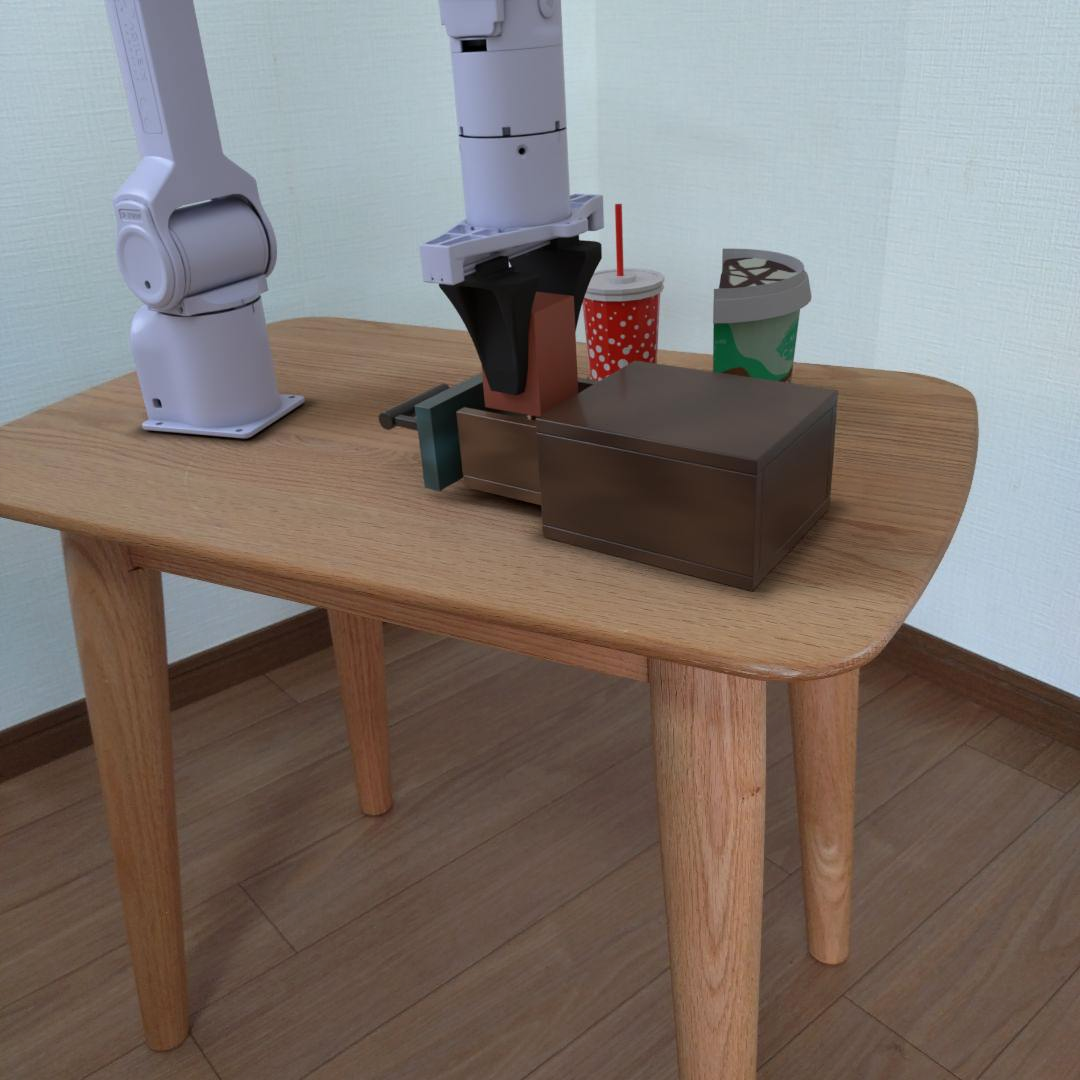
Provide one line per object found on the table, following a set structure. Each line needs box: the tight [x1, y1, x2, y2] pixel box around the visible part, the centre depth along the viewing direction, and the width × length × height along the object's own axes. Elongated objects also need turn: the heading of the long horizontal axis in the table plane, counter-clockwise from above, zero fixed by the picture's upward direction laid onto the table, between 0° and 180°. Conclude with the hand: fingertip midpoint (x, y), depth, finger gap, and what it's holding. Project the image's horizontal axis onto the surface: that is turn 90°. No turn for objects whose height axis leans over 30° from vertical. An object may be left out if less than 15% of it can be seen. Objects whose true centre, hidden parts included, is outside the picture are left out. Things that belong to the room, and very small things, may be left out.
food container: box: [712, 248, 813, 383], centre depth 71 cm, size 12×6×10 cm, turn 168°
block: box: [480, 292, 579, 417], centre depth 60 cm, size 4×4×6 cm
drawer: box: [378, 372, 599, 506], centre depth 63 cm, size 16×9×5 cm, turn 56°
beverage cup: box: [581, 203, 665, 381], centre depth 73 cm, size 6×6×14 cm
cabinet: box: [535, 361, 839, 592], centre depth 57 cm, size 13×11×7 cm
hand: (529, 379), depth 61 cm, fingers closed on block, 4 cm apart
